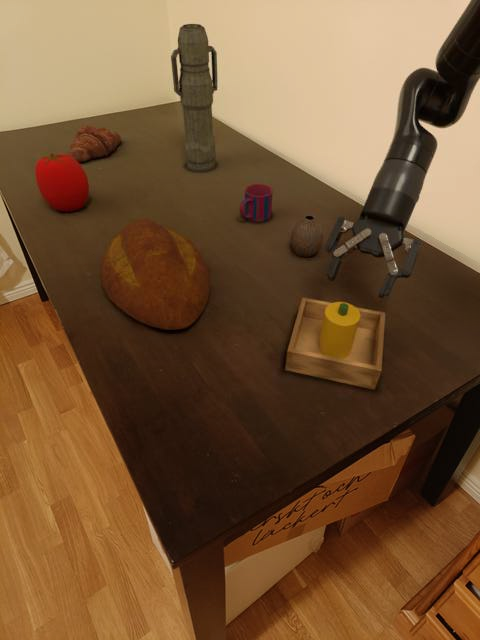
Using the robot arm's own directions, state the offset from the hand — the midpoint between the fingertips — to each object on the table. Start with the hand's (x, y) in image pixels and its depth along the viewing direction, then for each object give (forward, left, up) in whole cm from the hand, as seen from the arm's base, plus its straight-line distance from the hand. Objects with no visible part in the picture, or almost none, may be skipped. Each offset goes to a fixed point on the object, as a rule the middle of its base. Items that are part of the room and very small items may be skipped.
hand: (355, 288), depth 70 cm
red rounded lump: (+73, -26, -11) cm, 79 cm away
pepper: (+1, +5, -10) cm, 11 cm away
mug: (+26, -34, -11) cm, 44 cm away
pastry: (+84, -59, -11) cm, 104 cm away
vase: (+11, -23, -11) cm, 28 cm away
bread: (+38, -3, -11) cm, 40 cm away
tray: (+1, +5, -10) cm, 11 cm away
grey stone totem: (+49, -59, -11) cm, 78 cm away
